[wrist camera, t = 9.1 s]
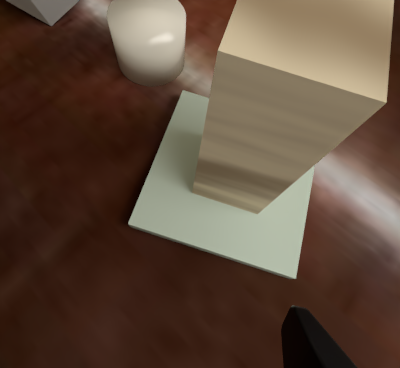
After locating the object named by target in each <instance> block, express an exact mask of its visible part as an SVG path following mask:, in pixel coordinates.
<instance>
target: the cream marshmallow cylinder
mask: <svg viewBox="0 0 400 368" xmlns="http://www.w3.org/2000/svg"><path fill="white" fill-rule="evenodd" d="M107 21H108V25H109V29H110V33H111V37H112V40H113V44H114V48H115V52H116V56H117V60H118V64H119V68H120V70H121V72H122V73H123V74H124V75H125V77H127V78H128V79H129V80H131V81H132V82H134V83H137V84H139V85H143V86H161V85H164V84H167V83H169V82H171V81H173V80H174V79H176V78H177V77H178V76H179V74H180V73H181V71H182V69H183V67H184V54H185V30H186V14H185V10H184V8H183V6H182V5H181V3H180V2H179V1H178V0H113V1H112V2H111V4H110V5H109V7H108V10H107Z"/></svg>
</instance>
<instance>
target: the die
mask: <svg viewBox="0 0 400 368" xmlns="http://www.w3.org/2000/svg"><path fill="white" fill-rule="evenodd" d="M6 1H8V2H9V3H11V4H13V5H15V6H16V7H18V8H20V9H22V10H23V11H25V12H27V13H29V14H30V15H32V16H34V17H36V18H37V19H39V20H41V21H43V22H45V23H46V24H48V25H50V26H52V25H53V24H54V23H55V22H57V21H58V20H59V19H60V18H61V17H62V16H63V15H64V14H65V13H66V12H67V11H69V10H70V9H71V8H72V7H73V6H74V5H75V4H76V3H77V2H78V1H79V0H6Z"/></svg>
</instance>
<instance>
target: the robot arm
mask: <svg viewBox="0 0 400 368" xmlns="http://www.w3.org/2000/svg"><path fill="white" fill-rule="evenodd" d="M281 336H282V350H283V364H284V368H357V366H356V365H355V364H354V363H353V362H352V361H351V359H350V358H349V357H348V356H347V355H346V354H345V352H344V351H343V350H342V349H341V348H340V347H339V345H338V344H337V343H336V342H335V341H334V340H333V338H332V337H331V336H330V335H329V334H328V333H327V331H326V330H325V329H324V328H323V327H322V325H321V324H320V323H319V322H318V321H317V320H316V318H315V317H314V316H313V315H312V314H311V313H310V311H309V310H308V309H306V308H304V307H299V306H292V307H290V309H289V311H288V313H287V316H286V318H285V320H284V322H283V324H282V329H281Z"/></svg>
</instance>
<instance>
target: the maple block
mask: <svg viewBox="0 0 400 368" xmlns="http://www.w3.org/2000/svg"><path fill="white" fill-rule="evenodd" d="M393 8H394V0H237V2H236V5H235V8H234V10H233V13H232V15H231V18H230V21H229V23H228V26H227V28H226V31H225V34H224V36H223V39H222V41H221V44H220V47H219V49H218V53H217V58H216V64H215V69H214V75H213V80H212V86H211V91H210V97H209V102H208V108H207V113H206V119H205V124H204V129H203V135H202V140H201V146H200V151H199V157H198V162H197V168H196V173H195V179H194V184H193V190H192V193H193V194H197V195H200V196H203V197H206V198H209V199H212V200H215V201H218V202H221V203H224V204H227V205H230V206H233V207H236V208H239V209H243V210H246V211H249V212H252V213H255V214H258V213H260V212H261V211H262V210H263V209H264V208H265V207H267V206H268V205H269V204H270V203H271V202H272V201H273V200H275V199H276V198H277V197H278V196H279V195H280V194H282V193H283V192H284V191H285V190H286V189H287V188H289V187H290V186H291V185H292V184H293V183H294V182H295V181H297V180H298V179H299V178H300V177H301V176H302V175H304V174H305V173H306V172H307V171H308V170H309V169H311V168H312V167H313V166H314V165H315V164H316V163H317V162H319V161H320V160H321V159H322V158H323V157H324V156H326V155H327V154H328V153H329V152H330V151H331V150H333V149H334V148H335V147H336V146H337V145H338V144H339V143H341V142H342V141H343V140H344V139H345V138H346V137H348V136H349V135H350V134H351V133H352V132H353V131H355V130H356V129H357V128H358V127H359V126H360V125H361V124H363V123H364V122H365V121H366V120H367V119H368V118H370V117H371V116H372V115H373V114H374V113H375V112H376V111H378V110H379V109H380V108H381V107H382V106H383V105H385V104H386V103H387V89H388V76H389V62H390V49H391V35H392V21H393Z"/></svg>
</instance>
